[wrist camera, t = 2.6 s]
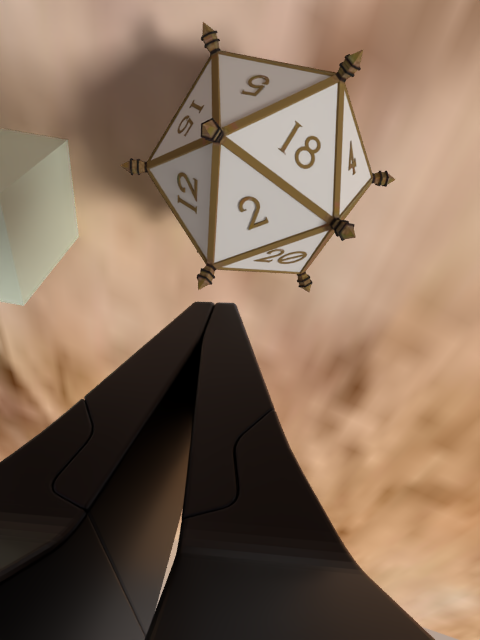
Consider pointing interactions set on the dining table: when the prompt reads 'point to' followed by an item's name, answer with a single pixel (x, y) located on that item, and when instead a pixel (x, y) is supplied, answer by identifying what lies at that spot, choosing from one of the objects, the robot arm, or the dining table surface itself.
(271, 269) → the game die
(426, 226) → the dining table surface
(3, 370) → the dining table surface
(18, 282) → the sage block
